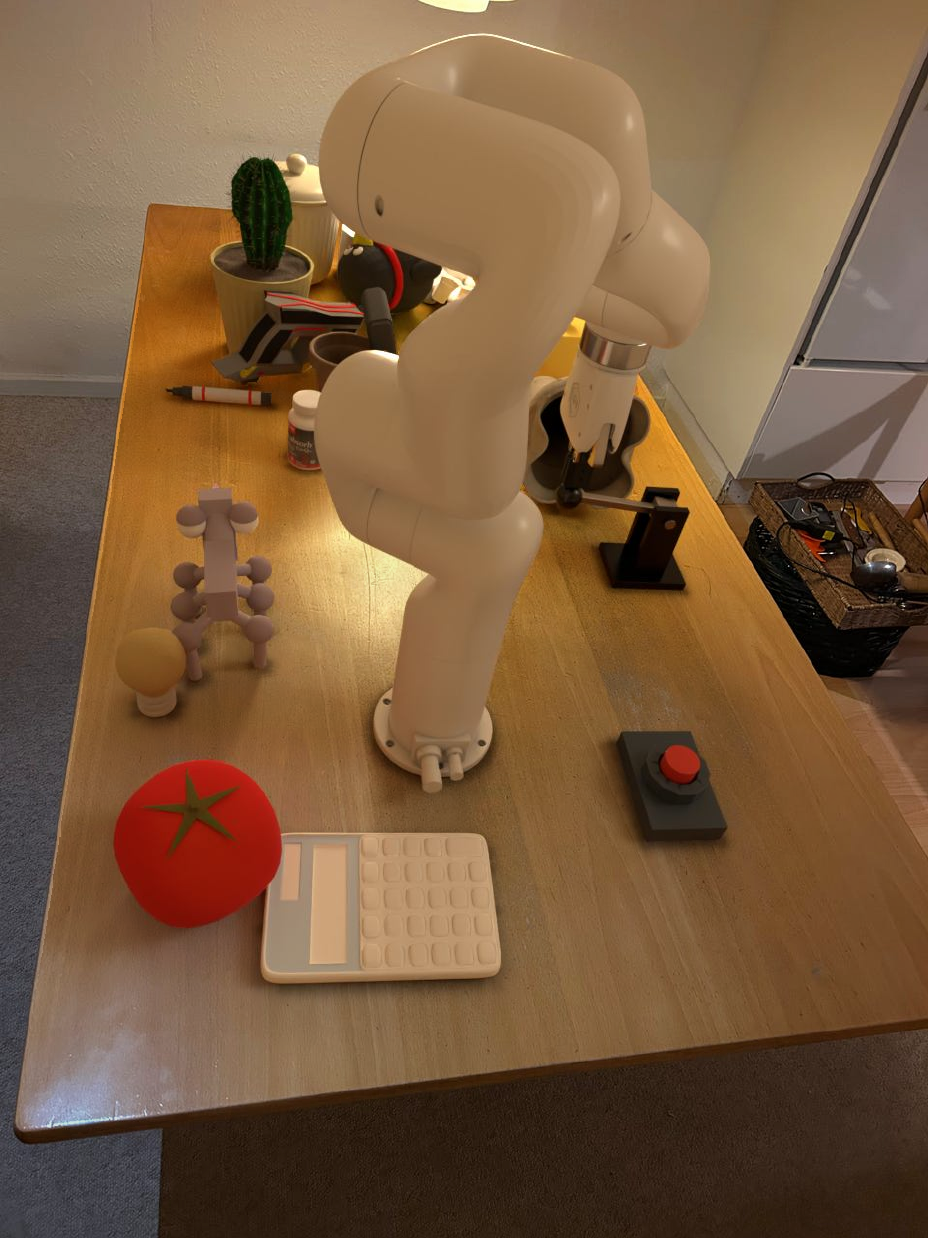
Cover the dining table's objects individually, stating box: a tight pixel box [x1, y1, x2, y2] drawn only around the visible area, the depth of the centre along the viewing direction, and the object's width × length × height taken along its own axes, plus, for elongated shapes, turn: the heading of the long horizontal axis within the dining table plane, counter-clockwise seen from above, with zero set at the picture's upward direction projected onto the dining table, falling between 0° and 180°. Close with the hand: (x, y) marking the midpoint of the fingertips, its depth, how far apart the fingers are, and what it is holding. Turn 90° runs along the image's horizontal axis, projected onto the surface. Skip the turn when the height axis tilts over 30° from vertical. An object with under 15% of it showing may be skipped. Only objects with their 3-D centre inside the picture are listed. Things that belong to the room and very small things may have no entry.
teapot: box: [534, 317, 585, 380], centre depth 143 cm, size 14×20×13 cm
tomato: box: [112, 758, 282, 930], centre depth 71 cm, size 13×14×12 cm
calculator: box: [260, 832, 502, 984], centre depth 75 cm, size 13×20×2 cm, turn 95°
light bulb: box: [114, 626, 187, 718], centre depth 84 cm, size 6×6×10 cm
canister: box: [274, 153, 340, 286], centre depth 155 cm, size 18×18×21 cm
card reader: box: [361, 287, 398, 355], centre depth 131 cm, size 9×4×15 cm, turn 12°
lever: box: [555, 483, 679, 517], centre depth 107 cm, size 16×3×3 cm, turn 97°
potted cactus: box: [209, 154, 314, 354], centre depth 130 cm, size 15×15×30 cm
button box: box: [615, 730, 728, 842], centre depth 88 cm, size 12×8×4 cm, turn 7°
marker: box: [164, 385, 273, 407], centre depth 127 cm, size 15×2×2 cm, turn 96°
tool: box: [211, 290, 365, 387], centre depth 133 cm, size 5×25×15 cm, turn 134°
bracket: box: [597, 485, 691, 591], centre depth 111 cm, size 10×8×12 cm
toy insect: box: [170, 482, 275, 682], centre depth 93 cm, size 20×11×14 cm, turn 12°
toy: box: [336, 233, 442, 315], centre depth 152 cm, size 20×16×20 cm
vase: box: [522, 376, 652, 510], centre depth 125 cm, size 22×22×28 cm
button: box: [660, 745, 700, 784], centre depth 86 cm, size 4×4×2 cm
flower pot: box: [309, 332, 387, 393], centre depth 128 cm, size 12×11×10 cm
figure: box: [430, 267, 476, 305], centre depth 166 cm, size 13×8×25 cm
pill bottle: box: [286, 389, 321, 471], centre depth 118 cm, size 6×6×10 cm
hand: (573, 483), depth 104 cm, fingers closed
